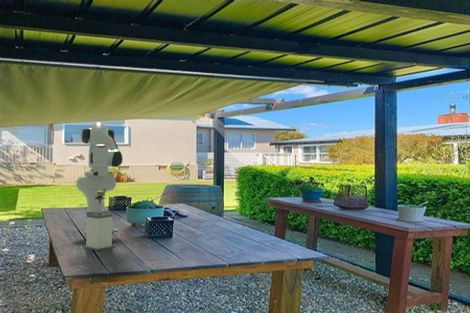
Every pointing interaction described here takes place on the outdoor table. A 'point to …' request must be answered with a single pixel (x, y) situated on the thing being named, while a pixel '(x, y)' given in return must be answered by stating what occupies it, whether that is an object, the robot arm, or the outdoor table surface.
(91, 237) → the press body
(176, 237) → the outdoor table surface
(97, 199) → the plunger
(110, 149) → the robot arm
